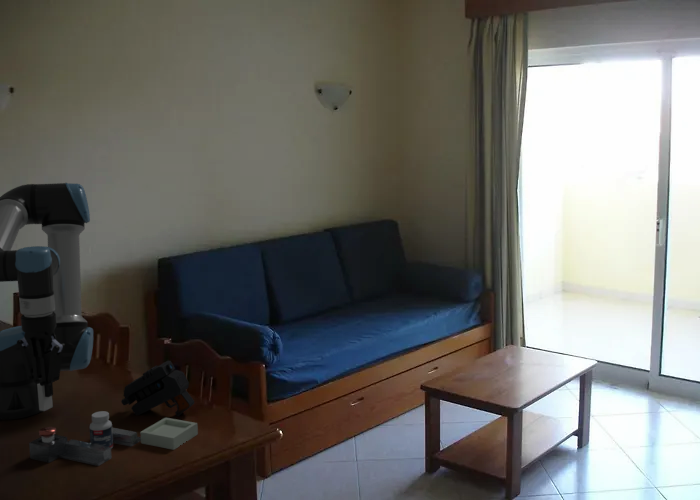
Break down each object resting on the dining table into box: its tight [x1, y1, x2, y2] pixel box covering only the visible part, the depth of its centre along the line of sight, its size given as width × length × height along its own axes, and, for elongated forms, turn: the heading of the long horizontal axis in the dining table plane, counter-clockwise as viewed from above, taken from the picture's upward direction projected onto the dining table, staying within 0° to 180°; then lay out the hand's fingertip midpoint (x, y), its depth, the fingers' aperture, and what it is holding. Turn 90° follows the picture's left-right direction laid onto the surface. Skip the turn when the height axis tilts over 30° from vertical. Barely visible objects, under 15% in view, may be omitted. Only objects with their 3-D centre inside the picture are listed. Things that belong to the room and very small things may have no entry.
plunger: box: [38, 426, 57, 444], centre depth 173 cm, size 4×4×6 cm
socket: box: [58, 427, 141, 467], centre depth 177 cm, size 12×16×3 cm
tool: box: [120, 360, 195, 417], centre depth 199 cm, size 6×19×15 cm, turn 78°
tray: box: [139, 417, 199, 451], centre depth 182 cm, size 10×10×3 cm
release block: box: [28, 433, 69, 464], centre depth 173 cm, size 6×6×4 cm
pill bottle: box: [89, 410, 114, 450], centre depth 176 cm, size 5×5×9 cm
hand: (46, 408), depth 172 cm, fingers closed
